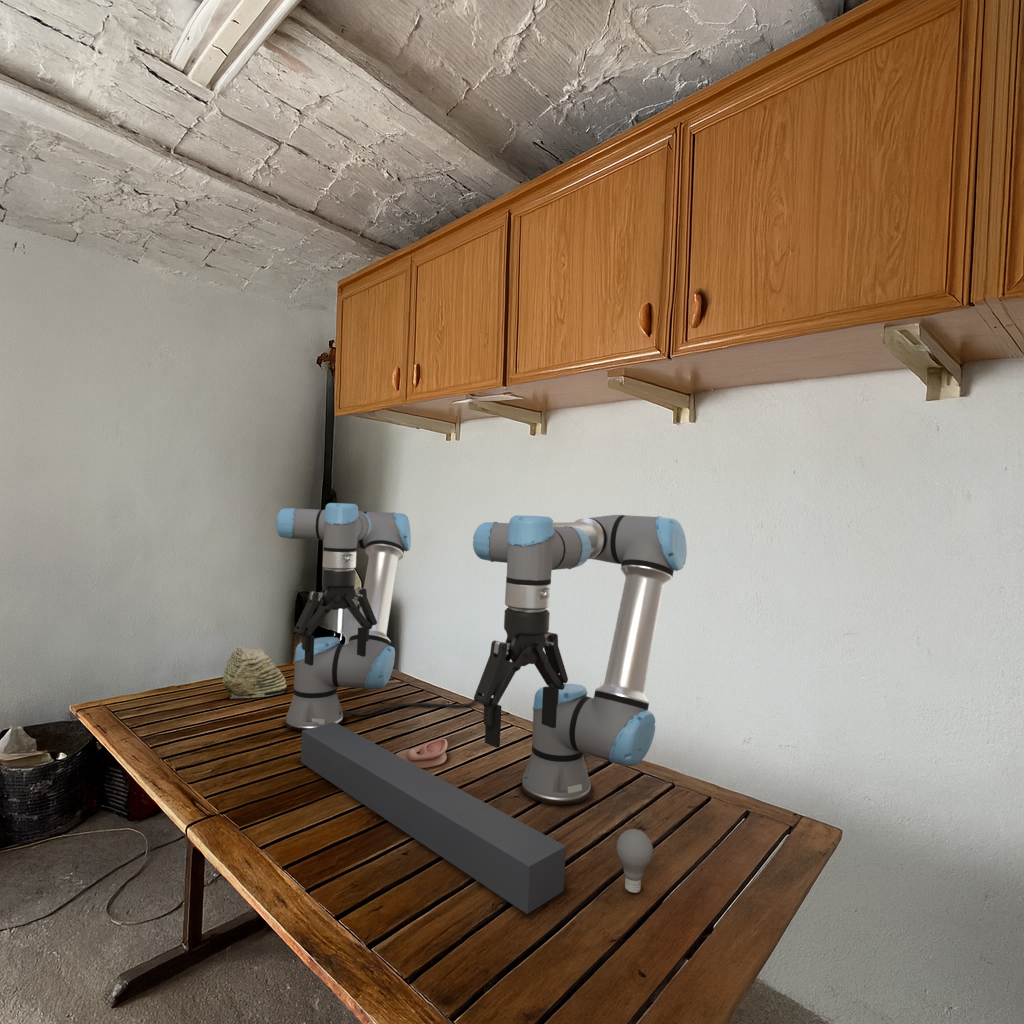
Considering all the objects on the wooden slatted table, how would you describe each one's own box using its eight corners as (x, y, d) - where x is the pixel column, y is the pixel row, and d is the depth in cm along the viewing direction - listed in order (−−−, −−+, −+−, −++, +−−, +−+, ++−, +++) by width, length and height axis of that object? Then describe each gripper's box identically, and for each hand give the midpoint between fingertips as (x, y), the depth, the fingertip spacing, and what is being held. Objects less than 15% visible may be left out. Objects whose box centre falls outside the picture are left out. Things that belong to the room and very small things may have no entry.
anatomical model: (384, 748, 150) (402, 731, 161) (383, 765, 150) (401, 747, 161) (437, 755, 147) (452, 738, 159) (437, 772, 148) (451, 753, 159)
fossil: (218, 695, 195) (220, 647, 195) (278, 685, 208) (279, 640, 207) (228, 703, 189) (230, 653, 188) (289, 692, 201) (290, 645, 201)
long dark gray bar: (300, 762, 150) (301, 730, 150) (334, 752, 157) (335, 722, 157) (527, 914, 98) (529, 866, 98) (563, 891, 105) (566, 845, 105)
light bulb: (610, 879, 108) (613, 822, 108) (644, 879, 109) (647, 822, 109) (619, 902, 102) (622, 840, 102) (655, 901, 103) (658, 840, 103)
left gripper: (296, 573, 136) (292, 671, 137) (393, 568, 154) (389, 655, 154) (280, 569, 142) (277, 664, 142) (376, 565, 159) (372, 649, 160)
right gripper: (488, 619, 94) (481, 761, 94) (591, 605, 112) (585, 724, 112) (455, 611, 99) (449, 746, 100) (558, 599, 117) (553, 713, 117)
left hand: (335, 659), depth 148 cm, fingers open, 13 cm apart
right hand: (521, 735), depth 106 cm, fingers open, 13 cm apart
